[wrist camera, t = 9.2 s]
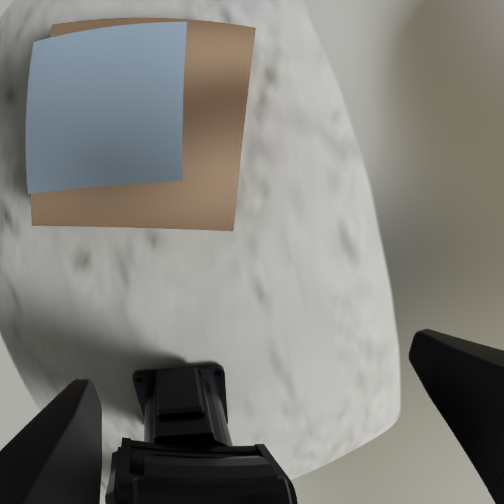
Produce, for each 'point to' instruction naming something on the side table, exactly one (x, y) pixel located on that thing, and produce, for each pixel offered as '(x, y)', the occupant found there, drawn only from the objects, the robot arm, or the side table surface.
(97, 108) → the blue cube
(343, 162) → the side table surface
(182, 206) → the walnut base
